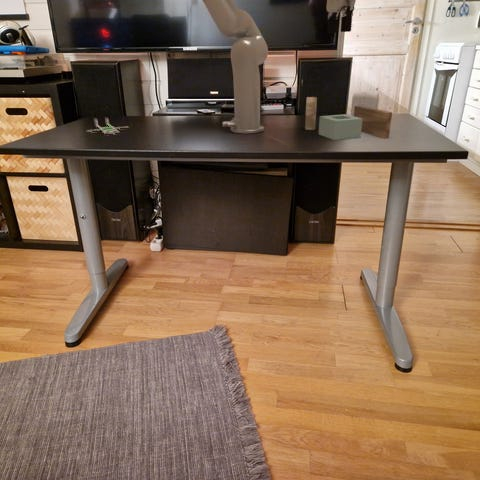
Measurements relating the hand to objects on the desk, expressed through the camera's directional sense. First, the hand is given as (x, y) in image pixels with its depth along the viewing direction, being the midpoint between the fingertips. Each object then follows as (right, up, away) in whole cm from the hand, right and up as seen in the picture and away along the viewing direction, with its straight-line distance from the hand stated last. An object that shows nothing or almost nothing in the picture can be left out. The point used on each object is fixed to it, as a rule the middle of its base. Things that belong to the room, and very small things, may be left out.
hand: (338, 32), depth 127 cm
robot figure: (-84, -22, +34) cm, 93 cm away
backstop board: (+5, -31, +10) cm, 33 cm away
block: (+2, -31, +8) cm, 32 cm away
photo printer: (+18, -18, +36) cm, 44 cm away
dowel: (-6, -26, +21) cm, 34 cm away
